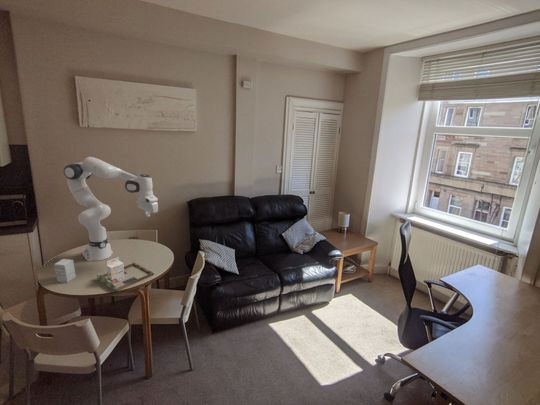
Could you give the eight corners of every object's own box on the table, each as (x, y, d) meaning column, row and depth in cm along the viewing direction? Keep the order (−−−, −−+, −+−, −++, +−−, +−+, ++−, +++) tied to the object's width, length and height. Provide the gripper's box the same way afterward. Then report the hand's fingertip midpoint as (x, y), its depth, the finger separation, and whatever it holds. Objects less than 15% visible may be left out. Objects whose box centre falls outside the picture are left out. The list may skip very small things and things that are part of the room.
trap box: (97, 279, 188) (96, 273, 187) (134, 264, 209) (134, 259, 208) (116, 291, 176) (115, 285, 175) (153, 274, 196) (153, 269, 195)
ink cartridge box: (112, 284, 183) (109, 263, 179) (108, 281, 186) (105, 261, 182) (125, 278, 190) (123, 258, 186) (121, 276, 192) (119, 256, 188)
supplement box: (65, 275, 190) (62, 258, 186) (76, 277, 189) (73, 259, 186) (56, 281, 183) (53, 263, 179) (67, 283, 182) (64, 265, 179)
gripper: (134, 195, 205) (135, 214, 209) (151, 201, 194) (152, 220, 198) (142, 194, 210) (143, 212, 214) (159, 199, 200) (160, 218, 203)
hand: (147, 216), depth 206 cm, fingers closed
